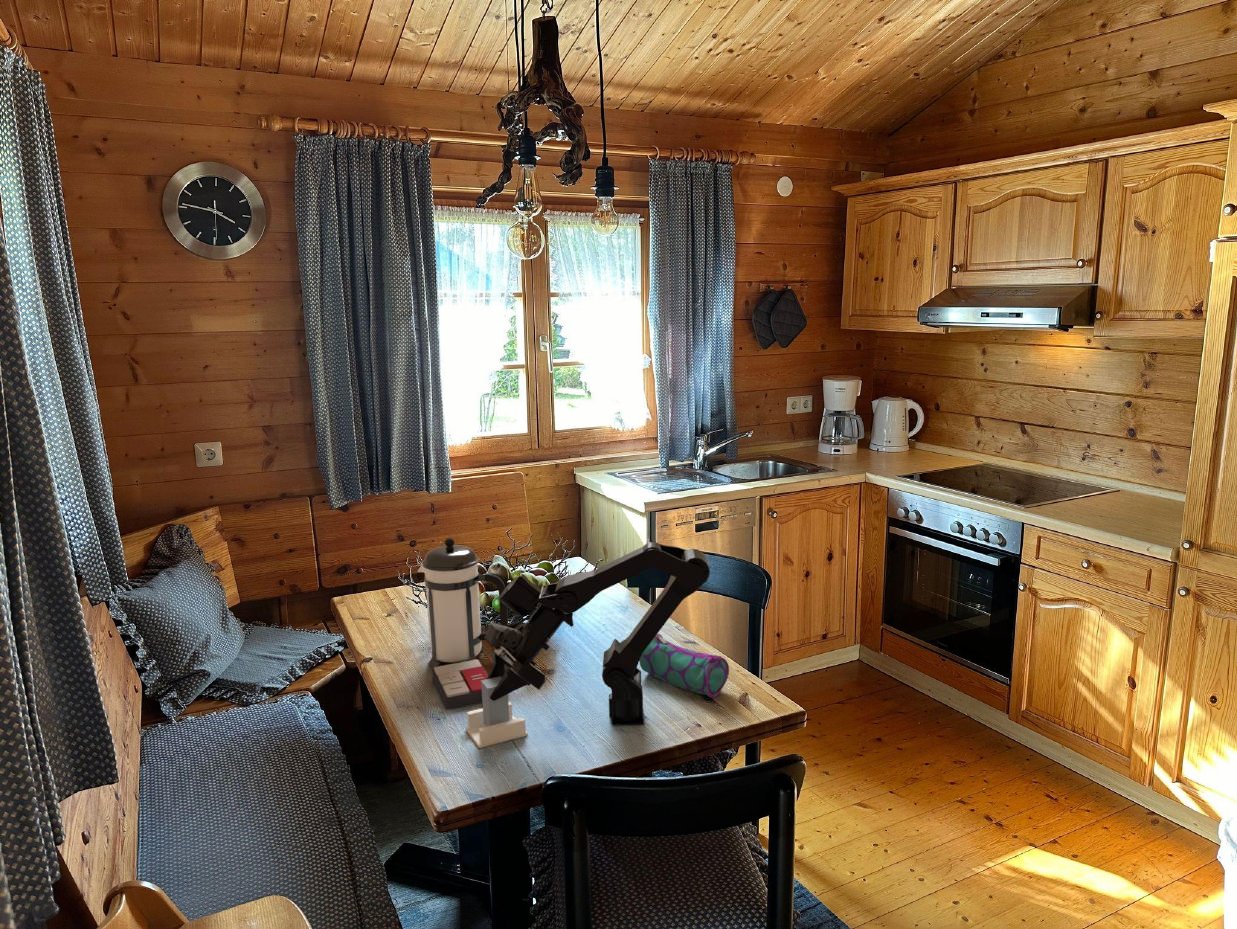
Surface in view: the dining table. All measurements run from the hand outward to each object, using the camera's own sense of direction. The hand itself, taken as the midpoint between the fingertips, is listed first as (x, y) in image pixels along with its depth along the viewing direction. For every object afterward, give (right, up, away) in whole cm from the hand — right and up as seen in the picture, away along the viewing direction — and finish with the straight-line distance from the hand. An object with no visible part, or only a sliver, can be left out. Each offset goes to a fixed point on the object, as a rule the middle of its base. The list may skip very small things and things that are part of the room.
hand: (488, 695), depth 171 cm
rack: (+1, -8, +2) cm, 8 cm away
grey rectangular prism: (+1, -6, +2) cm, 7 cm away
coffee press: (-12, -1, +38) cm, 39 cm away
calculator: (-8, -5, +21) cm, 23 cm away
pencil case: (+40, -4, +22) cm, 45 cm away
